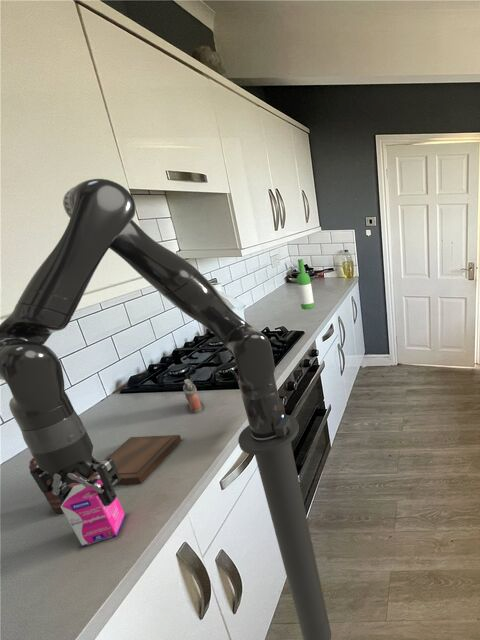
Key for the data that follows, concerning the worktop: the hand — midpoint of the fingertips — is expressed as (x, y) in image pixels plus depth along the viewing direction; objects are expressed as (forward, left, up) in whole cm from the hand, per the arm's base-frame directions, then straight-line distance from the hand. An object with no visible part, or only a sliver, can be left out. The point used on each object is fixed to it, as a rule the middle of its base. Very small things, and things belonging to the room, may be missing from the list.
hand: (91, 503), depth 71 cm
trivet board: (+9, -21, -8) cm, 24 cm away
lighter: (+8, -46, -8) cm, 47 cm away
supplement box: (0, 0, -8) cm, 8 cm away
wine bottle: (+1, -151, -8) cm, 151 cm away
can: (+14, -8, -8) cm, 18 cm away
